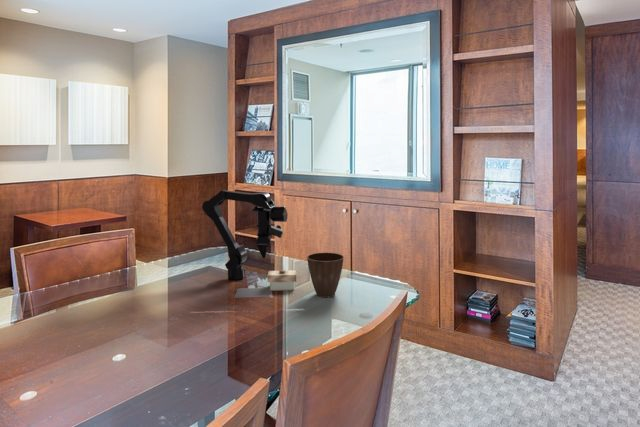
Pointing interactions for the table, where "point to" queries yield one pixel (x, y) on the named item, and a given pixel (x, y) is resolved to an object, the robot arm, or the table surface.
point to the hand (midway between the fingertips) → (264, 255)
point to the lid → (282, 276)
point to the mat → (252, 292)
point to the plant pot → (325, 272)
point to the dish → (281, 286)
